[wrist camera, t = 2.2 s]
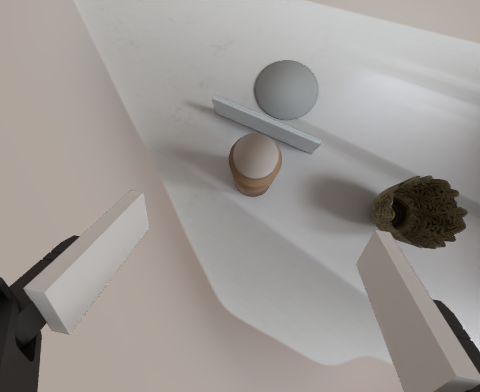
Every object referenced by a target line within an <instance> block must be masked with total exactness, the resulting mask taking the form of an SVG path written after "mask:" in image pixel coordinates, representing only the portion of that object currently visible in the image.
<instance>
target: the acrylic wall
mask: <svg viewBox="0 0 480 392" xmlns="http://www.w3.org/2000/svg"><path fill="white" fill-rule="evenodd" d="M212 101H213V105H214V108H215V111H216V113H218V114H220V115H222V116H224V117H227V118H229V119H231V120H234V121H236V122H238V123H241V124H243V125H245V126H248V127H250V128H252V129H255V130H257V131H259V132H262V133H264V134H266V135H268V136H271V137H273V138H275V139H278V140H280V141H282V142H285V143H287V144H289V145H292V146H294V147H296V148H299V149H301V150H303V151H305V152H308V153H310V154H312V153H313V152H314V151H315V150H316V149H317V147H318V146H319V145H320V144H321V142H322V140H320V139H318V138H315V137H313V136H311V135H308V134H306V133H304V132H301V131H299V130H297V129H294V128H292V127H290V126H287V125H285V124H283V123H280V122H278V121H275V120H273V119H271V118H268V117H266V116H264V115H261V114H259V113H257V112H254V111H252V110H250V109H247V108H245V107H243V106H240V105H238V104H236V103H233V102H231V101H228V100H226V99H224V98H221V97H219V96H217V95H214V94H213V96H212Z"/></svg>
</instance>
